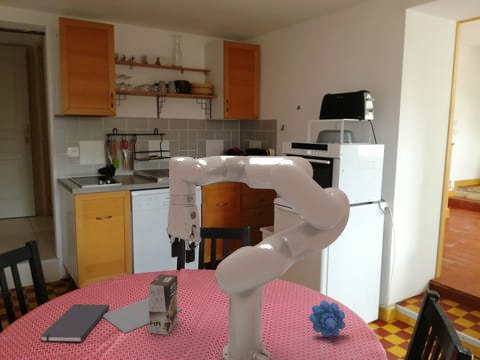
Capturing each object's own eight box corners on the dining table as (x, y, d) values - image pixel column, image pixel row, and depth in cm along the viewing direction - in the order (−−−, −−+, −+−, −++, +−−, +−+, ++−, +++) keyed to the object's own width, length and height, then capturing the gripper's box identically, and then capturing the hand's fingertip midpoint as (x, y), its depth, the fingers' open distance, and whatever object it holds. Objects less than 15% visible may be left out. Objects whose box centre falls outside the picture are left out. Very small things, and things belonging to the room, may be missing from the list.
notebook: (81, 342, 118) (109, 308, 139) (80, 337, 117) (108, 304, 138) (40, 341, 118) (73, 308, 139) (39, 336, 118) (73, 304, 139)
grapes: (312, 345, 119) (314, 307, 117) (306, 333, 125) (307, 297, 123) (349, 343, 120) (352, 306, 118) (341, 332, 126) (343, 296, 125)
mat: (181, 310, 139) (181, 309, 139) (125, 333, 123) (125, 332, 123) (155, 296, 150) (155, 295, 150) (100, 316, 134) (100, 314, 134)
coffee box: (168, 335, 123) (167, 286, 120) (148, 333, 124) (147, 284, 122) (178, 321, 132) (178, 275, 129) (160, 319, 133) (159, 273, 130)
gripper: (212, 202, 111) (212, 263, 114) (175, 193, 123) (175, 249, 126) (191, 205, 106) (191, 270, 109) (154, 196, 118) (155, 255, 120)
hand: (183, 258), depth 117 cm, fingers open, 5 cm apart
